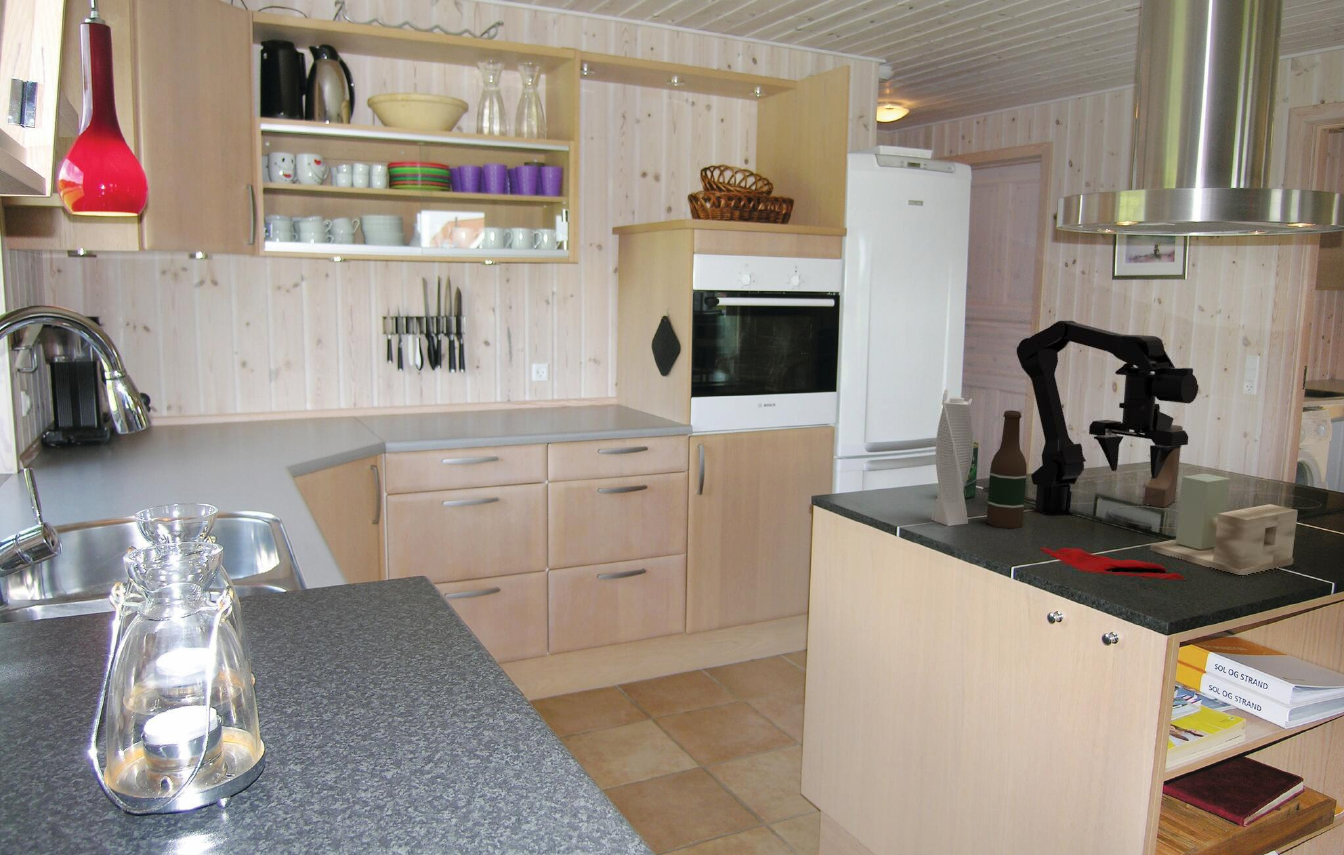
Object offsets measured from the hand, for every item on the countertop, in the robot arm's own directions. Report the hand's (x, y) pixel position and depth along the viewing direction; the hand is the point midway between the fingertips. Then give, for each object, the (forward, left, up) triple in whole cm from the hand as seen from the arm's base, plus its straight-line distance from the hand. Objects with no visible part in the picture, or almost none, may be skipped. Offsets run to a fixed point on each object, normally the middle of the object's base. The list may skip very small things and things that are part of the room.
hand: (1133, 474), depth 194 cm
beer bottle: (-23, +8, -12) cm, 27 cm away
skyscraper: (-34, +11, -12) cm, 38 cm away
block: (+5, -17, -10) cm, 20 cm away
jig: (+6, -19, -12) cm, 24 cm away
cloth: (-19, -21, -13) cm, 31 cm away
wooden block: (+23, +22, -12) cm, 34 cm away
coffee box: (-22, +31, -12) cm, 40 cm away
